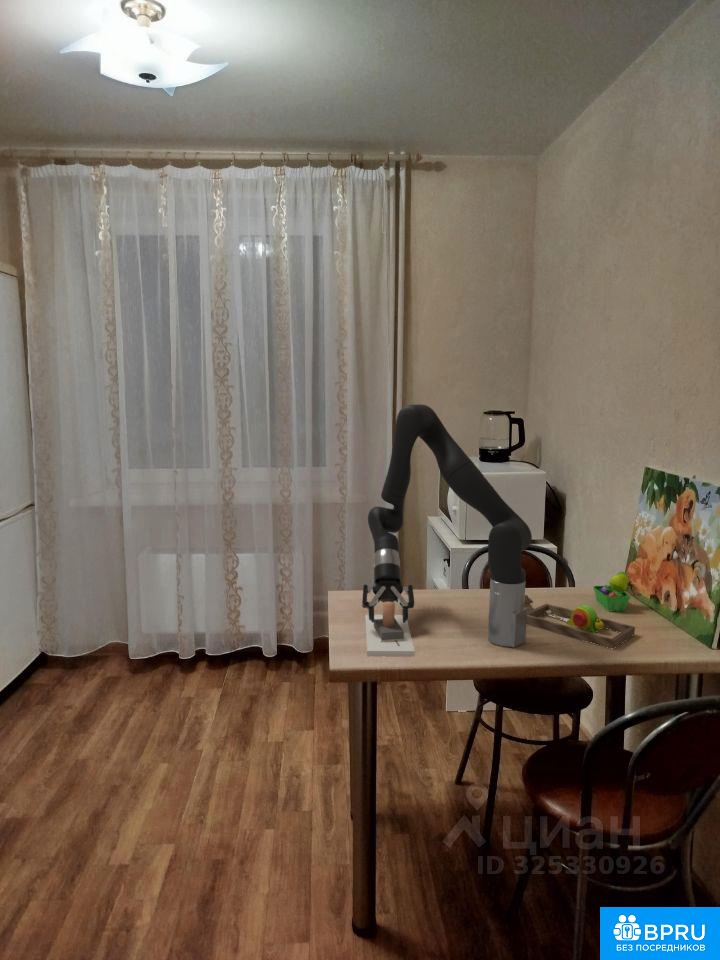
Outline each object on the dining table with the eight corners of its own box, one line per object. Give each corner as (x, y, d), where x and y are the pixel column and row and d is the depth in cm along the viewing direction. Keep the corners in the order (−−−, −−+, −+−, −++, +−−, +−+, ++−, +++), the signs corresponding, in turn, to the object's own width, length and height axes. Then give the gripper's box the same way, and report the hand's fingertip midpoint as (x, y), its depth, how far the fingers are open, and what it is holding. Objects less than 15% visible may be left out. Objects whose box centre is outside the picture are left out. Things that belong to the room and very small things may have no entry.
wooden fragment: (538, 617, 196) (538, 614, 195) (500, 615, 197) (501, 612, 197) (527, 591, 221) (527, 588, 221) (494, 589, 222) (494, 586, 222)
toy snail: (595, 637, 181) (597, 614, 180) (539, 616, 196) (540, 595, 195) (609, 632, 184) (610, 610, 183) (552, 612, 200) (554, 591, 199)
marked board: (365, 619, 192) (365, 614, 192) (405, 619, 192) (406, 614, 192) (367, 656, 166) (367, 650, 166) (414, 656, 166) (414, 651, 166)
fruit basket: (591, 600, 210) (593, 567, 209) (617, 600, 211) (620, 566, 209) (606, 613, 199) (608, 577, 198) (634, 612, 200) (637, 577, 198)
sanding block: (373, 627, 182) (374, 598, 180) (394, 625, 183) (395, 596, 182) (381, 641, 172) (382, 610, 171) (403, 639, 173) (404, 609, 172)
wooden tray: (634, 635, 182) (635, 626, 181) (613, 649, 172) (613, 640, 171) (546, 611, 200) (546, 603, 200) (522, 622, 190) (522, 614, 190)
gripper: (362, 561, 182) (362, 615, 173) (413, 561, 182) (416, 615, 173) (361, 574, 188) (362, 627, 179) (410, 574, 189) (413, 627, 179)
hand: (388, 621), depth 176 cm, fingers open, 8 cm apart
